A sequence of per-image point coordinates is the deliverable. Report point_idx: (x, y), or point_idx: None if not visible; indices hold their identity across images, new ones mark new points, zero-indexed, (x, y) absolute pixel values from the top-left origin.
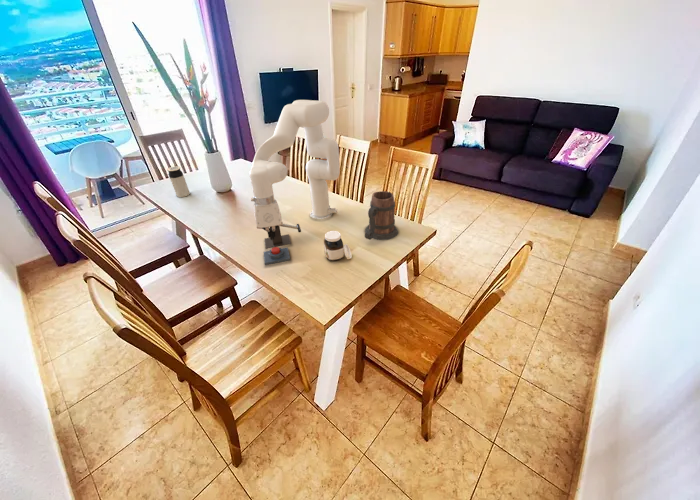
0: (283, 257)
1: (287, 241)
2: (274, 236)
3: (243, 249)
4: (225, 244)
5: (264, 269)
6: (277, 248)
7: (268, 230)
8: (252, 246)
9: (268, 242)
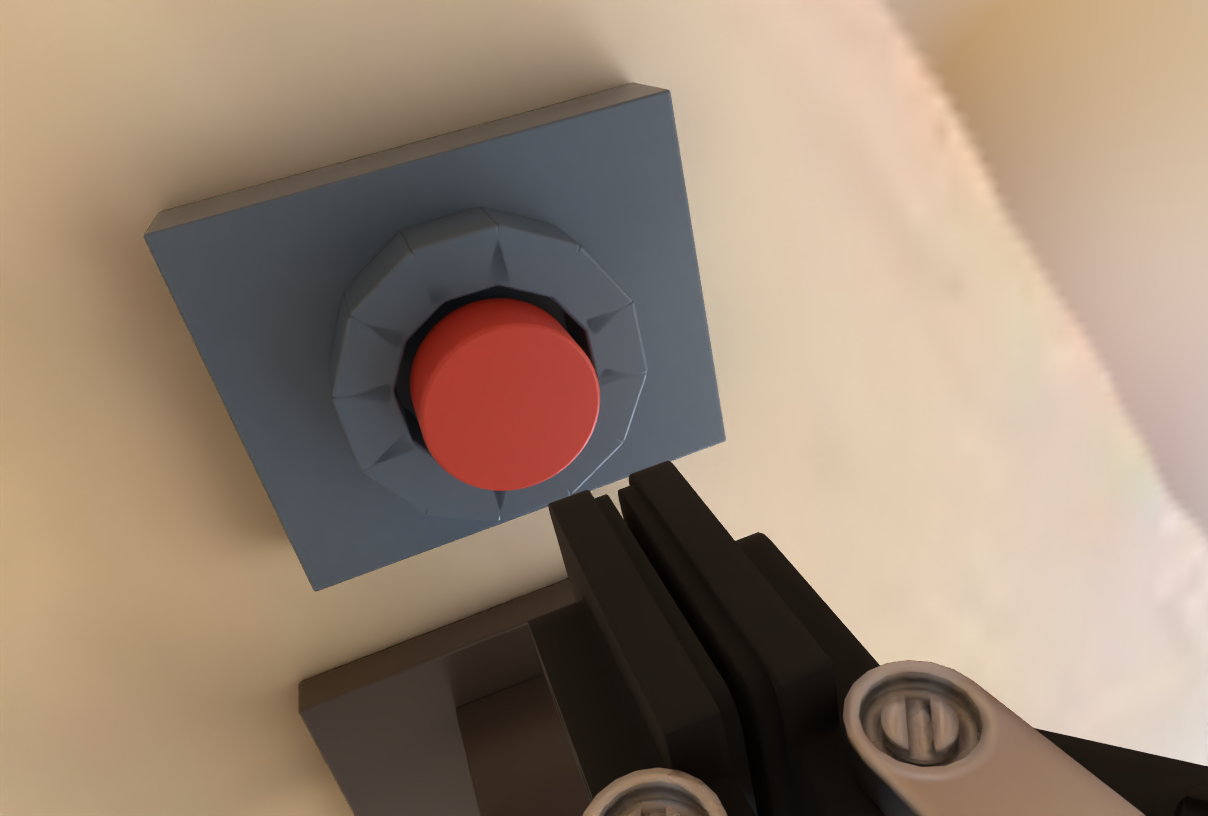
0: (313, 268)
1: (378, 754)
2: (568, 607)
3: (969, 524)
4: (1142, 594)
5: (646, 6)
6: (470, 437)
7: (906, 755)
8: (868, 594)
9: None
